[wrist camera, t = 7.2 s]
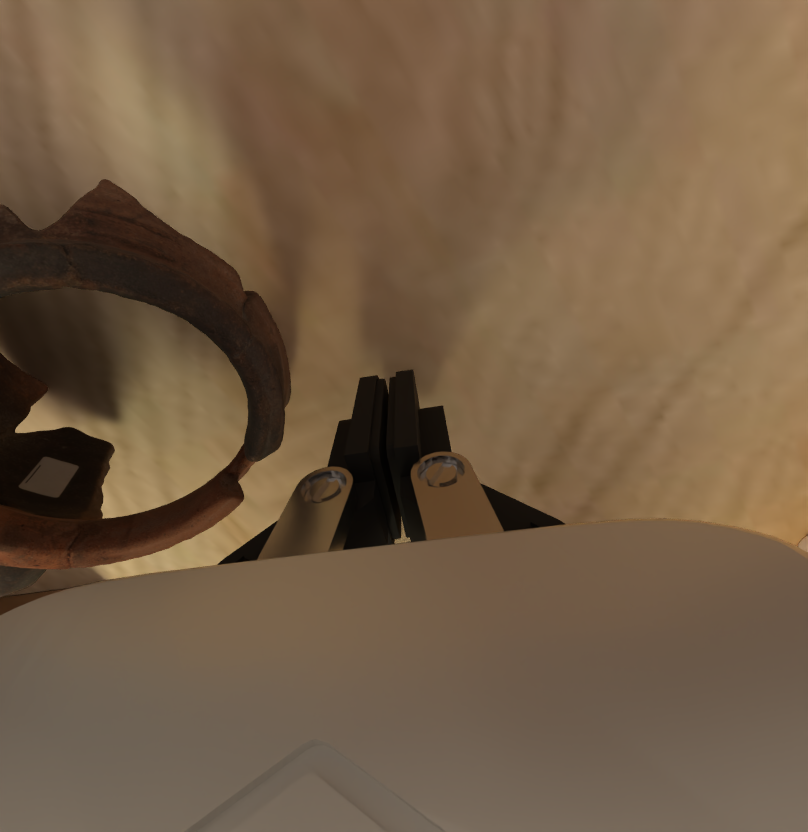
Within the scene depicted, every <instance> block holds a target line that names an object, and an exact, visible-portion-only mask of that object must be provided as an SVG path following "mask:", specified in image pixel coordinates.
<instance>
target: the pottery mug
mask: <svg viewBox="0 0 808 832" xmlns="http://www.w3.org/2000/svg"><path fill="white" fill-rule="evenodd" d="M63 287H73V288H78V289H88V290H97V291H102V292H108V293H113V294H116V295H119V296H121V297H124V298H129V299H133V300H137V301H141V302H145V303H147V304H150V305H154V306H156V307H159V308H161V309H163V310H165V311H168V312H170V313H173V314H175V315H177V316H178V317H181V318H183V319H184V320H186V321H188V322H189V323H190V324H192V325H193V326H194V327H196V328H197V329H199V330H200V331H202V332H203V333H204V334H206V335H207V336H208V337H209V338H210V339H211V340H212V341H213V342H214V343H215V344H216V345H217V346H218V347H219V348H220V349H221V350H222V351H223V352H224V353H225V354H226V355H227V357H228V358H229V360H230V362H231V363H232V365H233V366H234V367H235V369H236V371H237V372H238V374H239V376H240V378H241V380H242V382H243V385H244V387H245V390H246V394H247V398H248V425H247V429H246V434H245V439H244V444H243V446H242V447H241V449H240V450H239V452H238V454H237V455H236V457H235V458H234V459H233V460H232V462H231V463H230V464H229V465H228V466H227V467H226V468H224V469H223V470H222V471H221V472H219V473H218V474H217V475H216V476H215V477H214V478H213V479H211V480H210V481H208V482H207V483H206V484H205V485H203V486H202V487H200V488H198V489H197V490H195V491H193V492H192V493H190V494H188V495H186V496H185V497H183V498H180V499H178V500H176V501H174V502H172V503H169V504H167V505H164V506H161V507H158V508H155V509H152V510H148V511H145V512H141V513H137V514H133V515H128V516H122V517H116V518H104V519H102V516H103V513H102V511H101V506H102V504H103V493H102V488H101V486H102V485H103V483H104V478H105V476H106V475H107V473H108V471H109V469H110V465H109V460H110V459H111V457H112V455H113V453H114V451H115V449H114V446H113V445H112V444H111V443H109V442H107V441H104V440H101V439H97V438H94V437H91V436H89V435H86V434H85V433H83V432H81V431H79V430H77V429H75V428H72V427H63V428H60V429H56V430H48V431H36V432H30V433H15V429H16V427H17V426H18V425H19V424H20V423H21V422H22V421H23V420H24V419H25V418H26V417H27V416H28V414H29V412H30V409H31V406H32V405H33V404H35V403H36V402H37V401H38V400H40V399H41V398H42V397H43V396H44V395H45V394H46V393H47V391H48V386H47V385H45V384H44V383H42V382H41V381H39V380H37V379H35V378H34V377H32V376H30V375H28V374H26V373H25V372H23V371H22V370H21V369H20V368H18V367H17V366H16V365H14V364H13V363H11V362H10V361H9V360H7V359H6V358H5V357H4V356H3V355H2V354H1V353H0V597H3V596H6V595H9V594H11V593H13V592H16V591H19V590H21V589H24V588H27V587H28V586H30V585H32V584H33V583H35V582H36V581H37V579H38V578H39V577H40V576H41V575H42V574H43V573H44V572H45V571H46V570H47V569H59V570H61V569H69V568H76V567H81V568H86V567H93V566H97V565H105V564H112V563H115V562H121V561H126V560H129V559H133V558H139V557H142V556H146V555H150V554H153V553H155V552H158V551H162V550H165V549H168V548H170V547H172V546H174V545H175V544H178V543H180V542H182V541H184V540H187V539H191V538H192V537H194V536H196V535H197V534H199V533H201V532H203V531H205V530H207V529H209V528H211V527H212V526H214V525H215V524H216V523H217V522H219V521H220V520H222V519H223V518H224V517H226V516H228V515H229V514H230V513H231V512H232V511H233V510H235V509H236V508H237V507H238V506H239V505H240V503H241V502H242V501H243V500H244V494H243V491H242V488H241V486H240V484H239V483H238V481H239V480H240V479H241V478H242V477H243V476H244V475H245V474H246V473H247V472H248V470H249V469H250V467H251V466H252V465H253V464H254V463H255V462H257V461H260V460H262V459H263V458H265V457H267V456H268V455H270V454H271V453H273V452H275V451H276V450H278V448H279V447H280V445H281V442H282V439H283V434H284V424H285V410H284V409H285V407H286V405H287V404H288V402H289V400H290V395H291V381H290V371H289V365H288V358H287V355H286V350H285V346H284V343H283V340H282V338H281V335H280V332H279V329H278V328H277V325H276V323H275V322H274V320H273V318H272V316H271V314H270V312H269V310H268V308H267V306H266V305H265V303H264V301H263V300H262V298H261V297H260V296H259V295H258V294H257V293H256V292H254V291H244V290H243V287H242V284H241V280H240V277H239V275H238V273H237V272H236V271H235V269H234V268H233V267H231V266H230V265H229V264H227V263H226V262H225V261H224V260H222V259H221V258H219V257H218V256H217V255H215V254H214V253H212V252H211V251H209V250H208V249H206V248H204V247H202V246H200V245H199V244H197V243H195V242H194V241H193V240H192V239H190V238H188V237H185V236H183V235H182V234H180V233H178V232H177V231H176V230H174V229H173V228H171V227H170V226H169V225H167V224H166V223H165V222H163V221H162V220H161V219H159V218H157V217H156V216H155V215H154V214H153V213H151V212H150V211H148V210H147V209H145V208H144V207H143V206H142V205H141V204H140V203H139V202H138V201H137V200H136V199H135V198H134V197H133V196H131V195H130V194H129V193H127V192H126V191H124V190H123V189H121V188H120V187H118V186H117V185H115V184H114V183H112V182H111V181H109V180H106V179H103V180H101V181H100V182H99V185H98V186H97V188H95V189H93V190H92V191H90V192H88V193H87V194H86V195H84V196H83V197H82V198H80V199H79V200H78V201H77V202H76V203H75V204H74V205H73V206H72V207H71V208H70V209H69V210H68V211H67V212H66V214H64V215H63V216H62V217H61V219H60V220H58V221H57V222H55V223H54V224H52V225H50V226H49V227H47V228H45V229H44V230H40V231H38V230H32V229H30V228H28V227H27V226H26V225H25V224H24V223H23V222H22V221H21V220H20V219H19V218H18V217H17V216H16V215H15V214H14V213H13V212H12V211H11V210H10V209H9V208H8V207H6V206H4V205H1V204H0V298H1V297H5V296H8V295H12V294H16V293H22V292H31V291H39V290H49V289H59V288H63Z"/></svg>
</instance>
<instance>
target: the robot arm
mask: <svg viewBox="0 0 808 832" xmlns="http://www.w3.org/2000/svg"><path fill="white" fill-rule="evenodd" d="M401 517H402V521H403V525H404V530H405V534H406V537H407V538H408V537H410V539H411V542H407V543H398V544H394V539H399V538H401ZM0 832H808V552H806V551H804V550H802V549H801V548H799V547H797V546H795V545H793V544H790V543H788V542H786V541H783V540H781V539H778V538H776V537H773V536H769V535H766V534H763V533H759V532H756V531H752V530H748V529H743V528H739V527H735V526H728V525H722V524H716V523H710V522H704V521H696V520H681V519H666V518H658V519H625V520H612V521H600V522H588V523H576V524H565V523H563V522H562V521H560V520H558V519H556V518H554V517H552V516H549V515H547V514H545V513H543V512H541V511H539V510H537V509H534V508H532V507H530V506H528V505H526V504H524V503H522V502H519V501H517V500H515V499H513V498H511V497H509V496H506V495H504V494H502V493H500V492H498V491H496V490H494V489H491V488H489V487H487V486H485V485H483V484H481V483H480V482H479V480H478V478H477V476H476V474H475V472H474V470H473V468H472V466H471V464H470V463H469V461H468V460H467V459H466V458H465V457H463V456H462V455H460V454H457V453H453V452H451V446H450V441H449V436H448V430H447V425H446V420H445V414H444V409H443V406H438V407H431V408H424V409H420V407H419V401H418V395H417V389H416V383H415V377H414V372H413V370H407V371H401V372H396V377H392V378H390V382H389V394H388V389H387V384H386V381H385V379H379V377H378V375H375V376H368V377H362V378H360V380H359V385H358V390H357V394H356V399H355V404H354V409H353V414H352V418H351V419H348V420H342V421H339V424H338V428H337V432H336V435H335V439H334V443H333V447H332V451H331V455H330V459H329V463H328V467H325V468H322V469H319V470H316V471H314V472H312V473H310V474H308V475H307V476H306V477H304V478H303V479H302V480H301V481H300V482H299V484H298V485H297V486H296V488H295V490H294V492H293V494H292V496H291V497H290V499H289V501H288V503H287V505H286V507H285V509H284V511H283V512H282V514H281V516H280V518H279V520H278V521H276V522H275V523H274V524H272V525H271V526H269V527H268V528H267V529H265V530H264V531H262V532H261V533H260V534H258V535H257V536H255V537H254V538H253V539H251V540H250V541H248V542H247V543H246V544H244V545H243V546H241V547H240V548H239V549H237V550H236V551H234V552H233V553H232V554H230V555H229V556H227V557H226V558H225V559H223V560H222V561H221V562H220V563H218V564H217V565H213V566H205V567H197V568H189V569H181V570H173V571H165V572H157V573H149V574H142V575H136V576H129V577H123V578H117V579H110V580H104V581H98V582H94V583H90V584H85V585H81V586H77V587H72V588H69V589H66V590H62V591H59V592H56V593H53V594H50V595H46V596H43V597H41V598H38V599H36V600H34V601H31V602H29V603H26V604H24V605H22V606H19V607H17V608H14V609H12V610H10V611H8V612H6V613H4V614H2V615H0Z"/></svg>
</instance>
